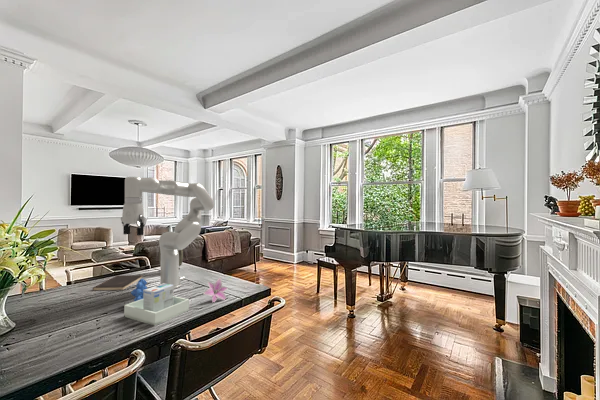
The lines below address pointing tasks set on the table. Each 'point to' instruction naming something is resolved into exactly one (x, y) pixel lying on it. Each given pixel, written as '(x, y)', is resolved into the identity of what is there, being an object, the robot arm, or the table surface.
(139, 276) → the hardcover book
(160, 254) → the tabletop clock
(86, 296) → the table surface
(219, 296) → the lily
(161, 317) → the bin
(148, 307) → the light bulb box
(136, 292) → the grapes
